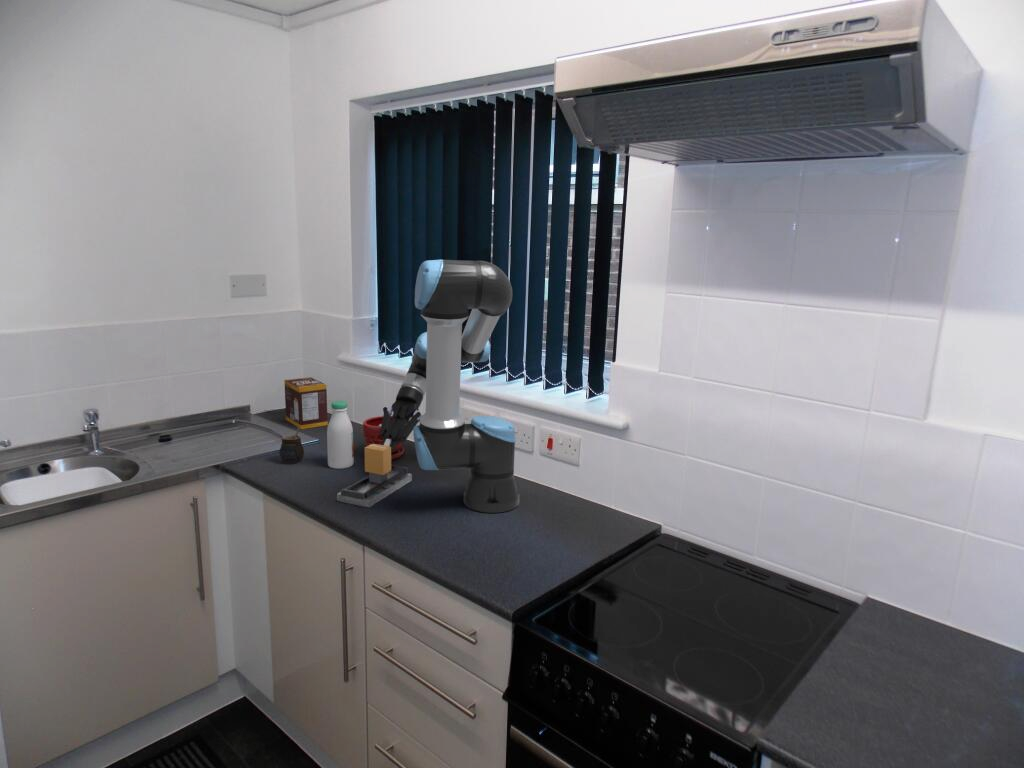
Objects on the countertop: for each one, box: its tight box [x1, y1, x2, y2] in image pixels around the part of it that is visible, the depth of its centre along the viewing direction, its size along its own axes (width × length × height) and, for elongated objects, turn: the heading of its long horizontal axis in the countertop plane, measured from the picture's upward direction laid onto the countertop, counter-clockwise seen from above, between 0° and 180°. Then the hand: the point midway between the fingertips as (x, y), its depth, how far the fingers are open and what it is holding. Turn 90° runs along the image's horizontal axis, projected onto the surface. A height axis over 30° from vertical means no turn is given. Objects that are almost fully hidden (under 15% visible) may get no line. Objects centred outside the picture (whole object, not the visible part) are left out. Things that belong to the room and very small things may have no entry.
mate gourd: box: [278, 427, 305, 465], centre depth 206 cm, size 7×8×10 cm
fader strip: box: [336, 464, 413, 509], centre depth 186 cm, size 23×10×4 cm, turn 158°
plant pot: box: [362, 415, 405, 460], centre depth 214 cm, size 13×13×12 cm
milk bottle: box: [326, 400, 355, 470], centre depth 203 cm, size 8×8×20 cm
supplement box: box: [284, 376, 329, 430], centre depth 248 cm, size 10×15×16 cm
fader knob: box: [364, 444, 392, 484], centre depth 186 cm, size 4×6×10 cm, turn 68°
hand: (382, 461), depth 189 cm, fingers closed
